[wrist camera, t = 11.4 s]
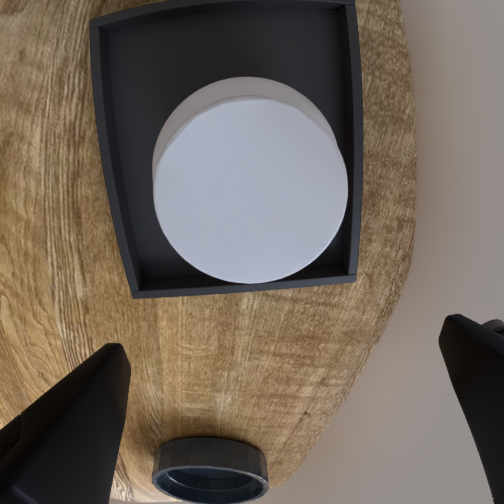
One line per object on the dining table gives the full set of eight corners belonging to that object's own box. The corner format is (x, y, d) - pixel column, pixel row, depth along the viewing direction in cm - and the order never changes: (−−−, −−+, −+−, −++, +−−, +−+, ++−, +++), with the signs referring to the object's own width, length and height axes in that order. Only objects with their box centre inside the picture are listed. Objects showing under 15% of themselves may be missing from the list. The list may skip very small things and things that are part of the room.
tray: (102, 26, 14) (89, 19, 12) (343, 4, 14) (354, -5, 12) (140, 283, 21) (132, 299, 20) (347, 267, 22) (356, 282, 20)
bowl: (264, 431, 30) (266, 463, 26) (267, 478, 35) (269, 503, 32) (141, 432, 30) (135, 462, 26) (171, 479, 35) (169, 503, 32)
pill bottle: (219, 214, 19) (202, 341, 9) (166, 123, 17) (73, 154, 7) (315, 167, 18) (404, 248, 8) (267, 71, 16) (310, 21, 6)
